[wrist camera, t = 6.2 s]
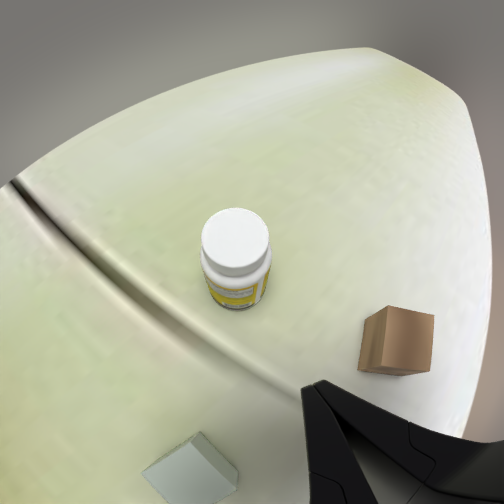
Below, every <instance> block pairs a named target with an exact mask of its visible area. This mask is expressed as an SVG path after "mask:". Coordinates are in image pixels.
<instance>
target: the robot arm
mask: <svg viewBox="0 0 504 504" xmlns="http://www.w3.org/2000/svg"><path fill="white" fill-rule="evenodd" d="M301 399H302V408H303V417H304V427H305V437H306V448H307V459H308V470H309V485H310V503H309V504H504V440H502V441H497V442H491V443H480V442H474V441H469V440H465V439H461V438H457V437H453V436H449V435H445V434H441V433H438V432H435V431H432V430H429V429H426V428H424V427H421V426H419V425H416V424H414V423H412V422H408V421H407V420H405V419H403V418H401V417H399V416H396V415H394V414H392V413H390V412H388V411H386V410H384V409H381V408H379V407H377V406H375V405H373V404H371V403H369V402H367V401H365V400H363V399H361V398H359V397H357V396H355V395H353V394H351V393H349V392H347V391H345V390H344V389H342V388H340V387H338V386H336V385H334V384H332V383H330V382H328V381H327V380H321V381H318V382H316V383H314V384H313V385H308V386H306V387H303V388H301Z"/></svg>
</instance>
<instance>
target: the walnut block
mask: <svg viewBox="0 0 504 504" xmlns="http://www.w3.org/2000/svg"><path fill="white" fill-rule="evenodd" d="M433 329H434V315H430V314H426V313H421V312H416V311H412V310H407V309H403V308H398V307H393V306H389V305H388V306H386V307H385V308H383V309H381V310H380V311H378V312H377V313H375V314H373V315H372V316H370V317H369V318H367V319H365V324H364V332H363V338H362V345H361V351H360V357H359V363H358V369H357V370H360V371H366V372H373V373H381V374H389V375H397V376H405V375H411V374H417V373H423V372H429V371H430V365H431V356H432V344H433Z"/></svg>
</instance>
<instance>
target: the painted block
mask: <svg viewBox="0 0 504 504" xmlns="http://www.w3.org/2000/svg"><path fill="white" fill-rule="evenodd" d="M141 474H142V476H143V477H144V478H145V479H146V480H147V481H148V482H149V483H150V484H151V486H152V487H153V488H154V489H155V490H156V491H157V492H158V493H159V494H160V495H161V496H162V497H163V498H164V499H165V500H166V501H167V502H168V503H169V504H215V503H217V502H218V501H220V500H222V499H223V498H225V497H227V496H228V495H230V494H231V493H233V492H235V491H236V490H237V488H238V471H237V470H236V469H235V468H234V467H233V466H232V465H231V464H230V463H229V462H228V461H227V460H226V459H225V458H224V457H223V456H222V455H221V454H220V453H219V452H218V451H217V450H216V449H215V448H214V447H213V445H212V444H211V443H210V442H209V441H208V440H207V439H206V438H205V437H204V436H203V435H202V434H201V432H198V433H197V434H195V435H194V436H192V437H191V438H190V439H188V440H187V441H185V442H184V443H182V444H181V445H179V446H178V447H176V448H175V449H173V450H171V451H170V452H168V453H167V454H165V455H164V456H162V457H160V458H159V459H157V460H156V461H155V462H154V463H153V464H151V465H150V466H149V467H148V468H146V469H145V470H144V471H143V472H141Z"/></svg>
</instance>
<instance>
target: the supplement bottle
mask: <svg viewBox="0 0 504 504" xmlns="http://www.w3.org/2000/svg"><path fill="white" fill-rule="evenodd" d="M201 243H202V246H201V250H200V262H201V266H202V269H203V272H204V275H205V279H206V282H207V284H208V287H209V290H210V293H211V295H212V297H213V299H214V300H215V301H216V302H217V303H218V304H219V305H220V306H222V307H224V308H226V309H229V310H233V311H241V310H246V309H248V308H251V307H252V306H254V305H255V304H256V303H257V302H258V301H259V300H260V299H261V297H262V296H263V294H264V291H265V288H266V283H267V279H268V274H269V270H270V266H271V262H272V249H271V245H270V242H269V231H268V228H267V226H266V224H265V223H264V221H263V220H262V219H261V218H260V217H259V216H258V215H257V214H255V213H254V212H252V211H250V210H247V209H243V208H228V209H224V210H221V211H219V212H217V213H216V214H214V215H213V216H212V217H210V218H209V220H208V221H207V222H206V224H205V225H204V227H203V230H202V234H201Z"/></svg>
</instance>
